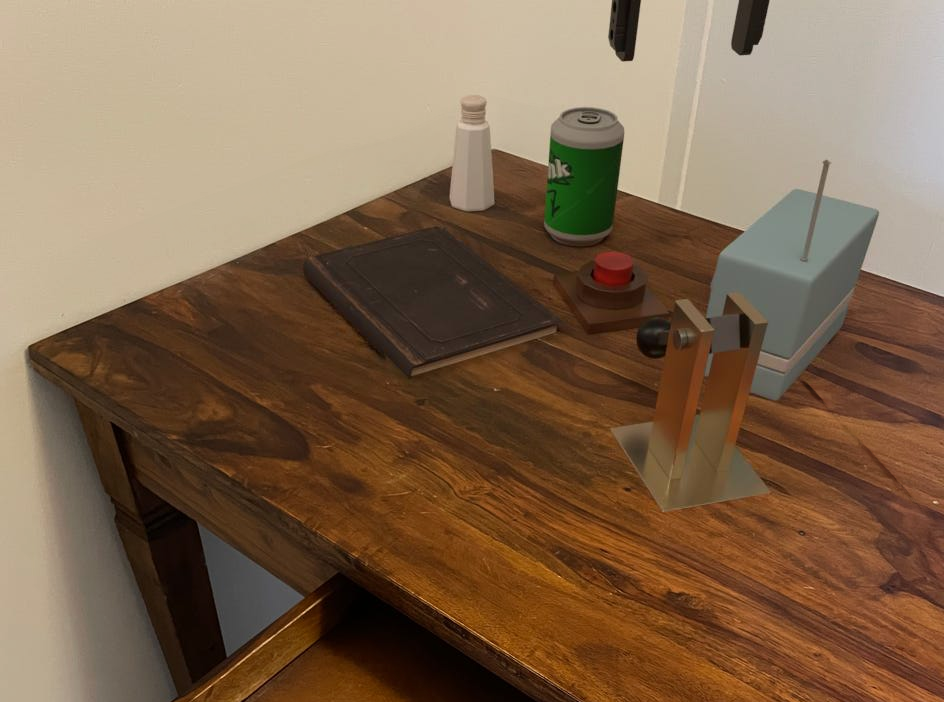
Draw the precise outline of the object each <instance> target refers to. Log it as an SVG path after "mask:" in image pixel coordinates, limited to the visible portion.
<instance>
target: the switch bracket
mask: <svg viewBox="0 0 944 702" xmlns="http://www.w3.org/2000/svg"><path fill="white" fill-rule="evenodd" d="M731 314H739V329H740V350H734V351H727V352H720V353H713V358H712V362H711V366H710V371H709V375H708V377H707V379H706V385H705V389H704V394H703V397H702V402H701V406H700V411H699V413H698V414H697V410H698V405H699V401H700V397H701V393H702V387H703V382H704V378H705V376H704V374H705V370H706V365H707V361H708V356H709V352H710V347H711V343H712V338H713V334H714V328H713V327H712V326H711V325H710V324H709V323H708V321H707V320H706V319H705V318H706V317H704V315H703V314H702V313H701V312H700V311H699V310H698V309H697V307H695V305H694V304H693V303H692V302H691V301H690V299H688V298H683V299H675V301H674V306H673V312H672V316H671V321H670V322H671V327H670V333H669V338H668V343H667V349H666V354H665V357H664V360H663V364H662V365H663V366H662V370H661V377H660V382H659V386H658V387H659V388H658V392H657V397H656V402H655V403H656V404H655V408H654V414H653V419H652V421H647V422H641V423H634V424H633V423H632V424H628V425H627V424H626V425H622V426H614V427H610V428H609V431H610V432H611V434H612V436H613V437H614V439H615V441H616V442H617V444H618V446H619V447H620V449H621V450H622V452H623V453H624V455H625V457H626V458H627V459H628V461H629V462H630V464H631V466H633V469H634V470H635V472H636V473H637V475H638V476H639V478H640V480H641V482H642V484H644V486H645V488H646V489H647V490H648V492H649V494H650V495H651V497H652V498H653V500H654V502H655V503H656V505H657V506H658V508H659V509H660V511H661V512H662V513H668V512H669V513H670V512H675V511H681V510H687V509H691V508H698V507H704V506H708V505H709V506H710V505H714V504H720V503H726V502H731V501H736V500H742V499H743V500H744V499H749V498H754V497H760V496H767V495H771V494H772V491H771V489H769V487H768V486H767V484H765V482H764V481H763V479H762V478H761V476H759V474H758V473H757V472H756V470H755V469H754V468H753V466H752V465H751V464H750V462H749V461H748V459H746V457H745V456H744V455H743V453H741V451H740V450H739V449H738V447H737V446H736V445H737V440H738V438H739V437H738V436H739V433H740V430H741V426H742V422H743V418H744V414H745V411H746V408H747V407H746V406H747V403H748V399H749V396H750V393H751V392H750V389H751V385H752V381H753V377H754V374H755V370H756V366H757V362H758V359H759V355H760V351H761V348H762V344H763V340H764V336H765V333H766V329H767V325H768V321H767V320H766V319H765V318H764V317H763V316H762V315H761V314H760V313H759V312H758V311H757V310H756V308H755V307H754V306H753V305H752V304H751V303H750V302H749V301H748V300H747V299H746V298H745V297H744V296H743V295H742V294H741V293H740V292H733V293H727V296H726V300H725V305H724V309H723V314H722V315H731Z"/></svg>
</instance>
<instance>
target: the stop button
mask: <svg viewBox="0 0 944 702" xmlns="http://www.w3.org/2000/svg"><path fill="white" fill-rule="evenodd" d="M594 260H595V265H594V274H593V278H594V280H595V281H597V282H599V283H601V284H603V285H611V286H620V285H626V284H628V283H630V281H631V277H632V270H633V264H634V259H633V257H631V256H629V255H628V254H626V253H623V252H620V251H619V252H618V251H606V252H602V253H599V254H598V255H596V256H595V258H594Z"/></svg>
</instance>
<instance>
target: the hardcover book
mask: <svg viewBox="0 0 944 702" xmlns="http://www.w3.org/2000/svg"><path fill="white" fill-rule="evenodd" d="M302 265H303V266H302V268H303V269H302V270H303V275H304V277H305V278H306V279H307V280H308V281H309V282H310V283H311V284H312V285H313V286H314V287H315V288H316V289H317V290H318V291H319V293H321V294H322V295H323V296H324V297H325V299H326V300H327V301H329V303H330V304H331V305H332V306H333V307H334V308H335V309H336V310H337V311H338V312H339V314H341V315H342V316H343V317H344V318H345V319H346V320H347V321H348V322H349V323H350V325H352V327H354V328H355V330H356V331H358V333H359V334H361V335H362V336H363V338H364V339H366V341H368V343H369V344H370V346H372V347H373V348H374V349H375V350H376V351H377V352H378V353H379V354H380V355H381V356H382V357H383V358H384V359H385V360H386V361H387V360H388V359H389V360H390V361H391V362H392V363H393V364H394V365H395V366H396V367H397V368H398V370H400V372H402V373H403V375H404V376H406V377H407V378H408V379H409V380H412V377H414V376H418V375H421V374H424V373H427V372H430V371H434V370H436V369H440V368H444V367H447V366H451V365H453V364H457V363H460V362H463V361H467V360H469V359H473V358H476V357H479V356H483V355H486V354H489V353H493V352H496V351H499V350H502V349H506V348H509V347H512V346H516V345H519V344H522V343H523V344H524V343H526V342H529V341H533V340H536V339H539V338H542V337H547V336H548V335H552V334H555V333H557V328H558V327H557V326H560V325H562V324H563V320H562V319H561V318H560V317H558V316H557V315H556V314H554V313H553V312H552V311H550V310H549V309H548V308H547V307H545V305H543V304H542V303H540V302H539V301H538V300H537V299H535V298H534V297H532V296H531V295H530V294H529V293H527V291H525V290H524V289H522V288H521V287H520V286H519V285H517V284H516V283H515V282H513V281H512V280H511V279H510V278H509V277H508V276H506V275H505V274H503V273H502V272H501V271H500V270H498V269H497V268H496V267H494V266H493V265H492V264H491V263H489V262H488V261H487V260H485V259H484V258H483V257H482V256H480V255H479V254H478V253H477V252H475V251H474V250H473V249H472V248H470V247H469V245H467V244H465V243H464V242H463V241H461V240H460V239H459V238H458V237H456V236H455V235H454V234H453V233H451V232H450V231H449V230H447V229H446V228H445V227H444V226H443V225H442V224H438V225H434V226H431V227H427V228H423V229H418V230H414V231H410V232H406V233H402V234H398V235H393V236H389V237H385V238H381V239H378V240H377V239H376V240H373V241H369V242H365V243H364V242H363V243H361V244H356V245H353V246H348V247H344V248H341V249H340V248H339V249H337V250H332V251H327V252H323V253H319V254H315V255H312V256H311V255H310V256H308V257H306V259H304V261H303V263H302ZM387 358H388V359H387Z"/></svg>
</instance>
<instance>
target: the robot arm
mask: <svg viewBox="0 0 944 702" xmlns="http://www.w3.org/2000/svg"><path fill="white" fill-rule="evenodd" d="M641 4H642V0H611V6H610V7H611V8H610V16H609V26H608V27H609V28H608V35H607V36H608V37H607V38H608V43H609V46H610V48H612V49H613V51H614V53H615V56H616V57H617V58H618V59H619V60H620V62H632V61H634V59H635V52H636V43H637V38H638V37H637V36H638V28H639V20H640V11H641ZM769 5H770V0H738V3H737V9H736V14H735V19H734V25H733V30H732V35H731V42H730V47H731V50H732V51H733V52H734V53H736V54H737V55H738V56H750V55H751V54H752V53H753V49H754V46H758V45H759V43H760V42H761V40H762V38H763V34H764V29H765V25H766V19H767V15H768V10H769Z"/></svg>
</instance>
